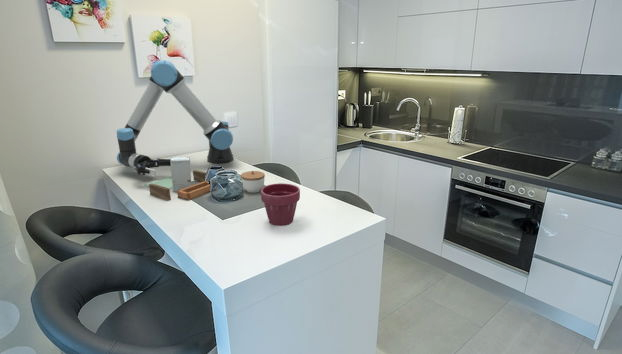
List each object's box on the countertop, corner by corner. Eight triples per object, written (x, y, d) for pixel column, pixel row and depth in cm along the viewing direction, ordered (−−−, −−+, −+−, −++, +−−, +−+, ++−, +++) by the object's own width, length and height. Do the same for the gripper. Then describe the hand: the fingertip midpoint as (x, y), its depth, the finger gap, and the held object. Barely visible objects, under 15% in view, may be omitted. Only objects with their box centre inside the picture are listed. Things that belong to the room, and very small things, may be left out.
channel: (196, 179, 175) (195, 169, 174) (212, 183, 169) (212, 174, 168) (150, 194, 155) (148, 184, 153) (167, 200, 149) (166, 189, 147)
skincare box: (173, 192, 158) (169, 160, 153) (173, 187, 163) (170, 157, 159) (192, 190, 160) (189, 159, 156) (192, 186, 166) (189, 156, 161)
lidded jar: (263, 194, 156) (262, 175, 153) (239, 194, 157) (238, 174, 154) (266, 186, 167) (266, 167, 164) (244, 186, 167) (243, 167, 164)
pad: (169, 177, 177) (169, 176, 177) (188, 182, 170) (188, 182, 170) (144, 185, 166) (144, 184, 166) (163, 191, 159) (163, 190, 159)
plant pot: (280, 210, 141) (280, 180, 137) (307, 219, 132) (307, 188, 128) (254, 221, 130) (252, 189, 126) (281, 233, 122) (280, 199, 118)
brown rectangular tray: (206, 186, 165) (205, 180, 164) (215, 189, 162) (215, 183, 161) (177, 197, 152) (177, 190, 151) (187, 200, 149) (187, 194, 148)
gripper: (163, 163, 186) (190, 170, 175) (117, 175, 166) (144, 184, 155) (161, 149, 183) (188, 155, 173) (114, 160, 163) (142, 168, 153)
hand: (167, 169), depth 164 cm, fingers open, 13 cm apart
